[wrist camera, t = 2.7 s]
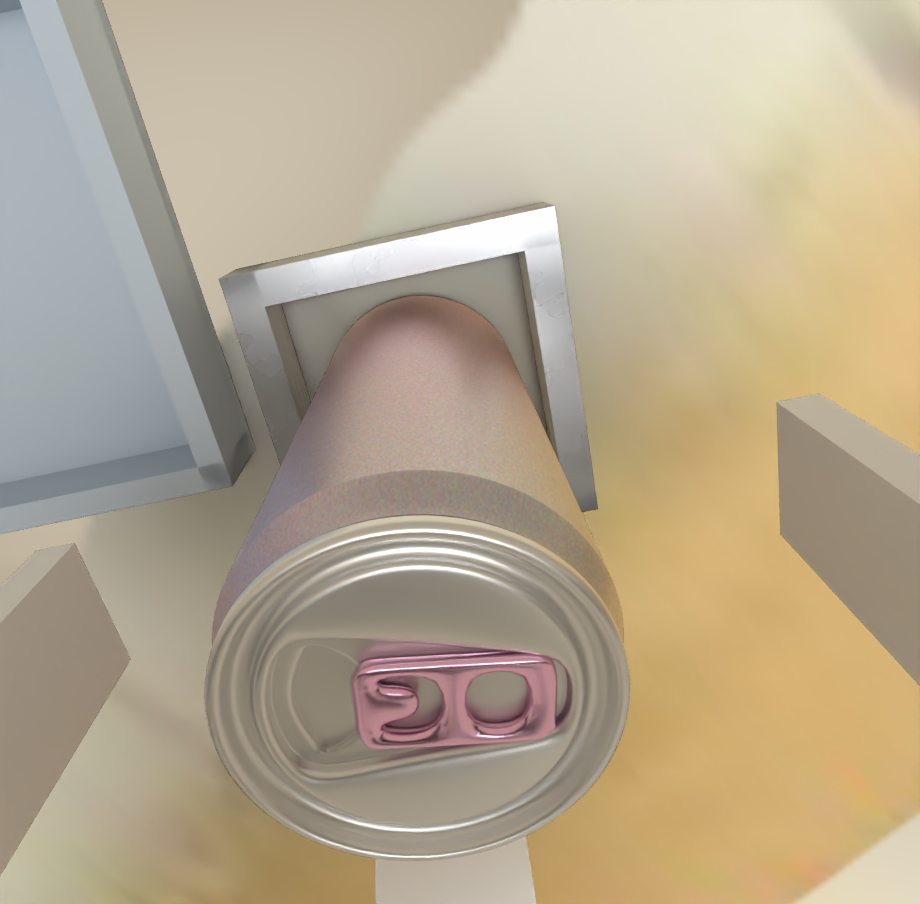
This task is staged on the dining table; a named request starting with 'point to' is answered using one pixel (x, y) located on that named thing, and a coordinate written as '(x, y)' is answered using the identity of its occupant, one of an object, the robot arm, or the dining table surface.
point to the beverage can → (418, 608)
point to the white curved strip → (459, 879)
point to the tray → (96, 291)
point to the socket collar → (406, 254)
